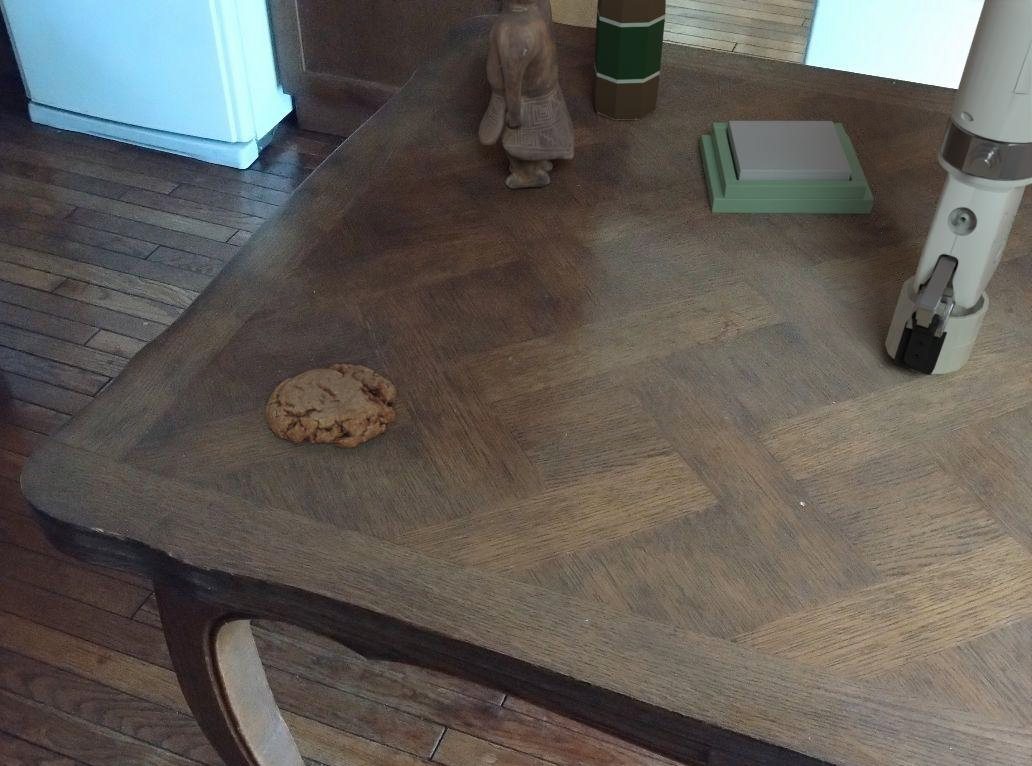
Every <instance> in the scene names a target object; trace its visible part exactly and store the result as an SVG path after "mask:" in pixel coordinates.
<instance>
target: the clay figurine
mask: <svg viewBox="0 0 1032 766" xmlns="http://www.w3.org/2000/svg"><path fill="white" fill-rule="evenodd" d="M493 1H494V2H499V1H500V0H493ZM505 2H506V5H505V6H504V7H503V9H502V11H501V12H500V13H499V15H498V16H497V18H496V19H495V22H494V24H493V26H492V27H491V30H490V32H489V35H488V39H489V40H488V41H489V51H488V55H487V59H486V77H487V81H488V83H489V85H490V87H491V97H490V100H489V104H488V106H487V108H486V111H485V112H484V115H483V116H482V119H481V121H480V123H479V127H478V133H477V135H478V138H479V142H480V143H481V145H482V146H483V147H494V146H495V145H497V144H498V142H499V141H500V142H501V144H502V148H503V149H504V152H505V155H506V156H507V159H508V161H509V163H510V164H509V168H508V169H509V172H510V174H509V175H508V176H507V178H506V179H505V181H504V182H505V183H504V184H505V186H507V187H508V189H511V190H516V189H523V188H542V187H545V186H547V185H549V184H550V183H551V181H550V180H551V178H550V176H549V174H548V173H549V172H550V171H552V169H553V166H554V165H553V162H551V161H552V160H562V161H563V160H564V161H570V160H572V159H573V158H574V156H575V132H574V131H575V130H574V126H573V122H572V118H571V116H570V112H569V109H568V105H567V103H566V100H565V97H564V95H563V91H562V88H561V86H560V82H559V57H558V50H557V41H556V35H555V28H554V20H553V11H552V4H551V0H505Z"/></svg>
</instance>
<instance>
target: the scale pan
mask: <svg viewBox="0 0 1032 766" xmlns="http://www.w3.org/2000/svg"><path fill="white" fill-rule="evenodd" d="M727 123H728V130H727V134H728V138H729V142H730V147H731V151H732V155H733V160H734V164H735V168H736V173H737V177H738V180H829V181H849V178H850V174H851V169H850V166H849V164H848V161H847V158H846V156H845V153H844V151H843V148H842V145H841V143H840V140H839V138H838V135H837V132H836V130H835V127H834V125H833V123H834V122H833V121H832V120H728V122H727Z"/></svg>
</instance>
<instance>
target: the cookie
mask: <svg viewBox="0 0 1032 766" xmlns="http://www.w3.org/2000/svg"><path fill="white" fill-rule="evenodd" d="M396 400H397V388H396V386H395V385H394V384H393V383H392V382H391V381H390V380H388V379H386V378H385V377H384V376H382V375H381V374H379V373H375V370H373V369H371V368H369V367H367V366H364V365H362V364H357V365H354V364H351V363H348V364H345V363H341V364H340V363H335V364H332V365H330V366H329V367H328V368H314V369H309V370H306V371H305V372H302V373H300V374H297V375H296V376H294V377H289V378H286V379H284V380H283V381H282V382H281V383H279V384H278V385H277V386H276V387H275V388H274V390H273V391H272V392H271V394H270V395H269V398H268V400H267V404H266V406H265V420H266V424H267V426H268V427H269V429H270V428H271V429H272V430H271V429H270V430H271V432H272V433H273V432H274V433H273V434H274V435H275V434H276V435H277V436H276V437H278V436H279V437H280V438H281V439H283V440H286V441H292V442H293V444H296V445H297V444H298V445H299V444H300V445H302V444H303V443H306V442H308V445H309V446H312V445H316V444H329V443H331V444H334V445H335V446H337V447H339V448H356V447H357V446H359V445H360V444H364V443H366V442H367V441H369V440H370V439H373V438H375V437H377V436H379V435H381V434H383V433H384V432H385V431H386V430H387V429H389V428H388V427H390V426H391V425H392V423H393V422H396V418H397V414H396V411H395V410H394V409H395V406H396ZM279 437H278V438H279ZM280 438H279V439H280ZM302 442H303V443H302Z"/></svg>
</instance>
